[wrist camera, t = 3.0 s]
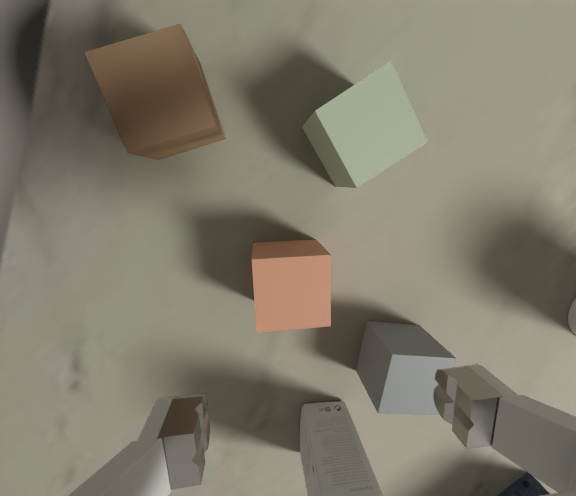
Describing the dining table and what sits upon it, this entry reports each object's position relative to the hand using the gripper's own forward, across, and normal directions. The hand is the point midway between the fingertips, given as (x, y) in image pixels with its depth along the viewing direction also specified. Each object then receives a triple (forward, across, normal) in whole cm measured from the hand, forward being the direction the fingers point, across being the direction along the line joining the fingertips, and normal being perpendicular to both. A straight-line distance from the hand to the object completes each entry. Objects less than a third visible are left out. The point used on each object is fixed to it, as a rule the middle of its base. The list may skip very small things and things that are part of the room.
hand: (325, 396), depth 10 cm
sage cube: (+14, -5, -10) cm, 18 cm away
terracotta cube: (+14, 0, 0) cm, 14 cm away
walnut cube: (+14, +7, -12) cm, 20 cm away
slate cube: (+14, -9, +8) cm, 18 cm away
